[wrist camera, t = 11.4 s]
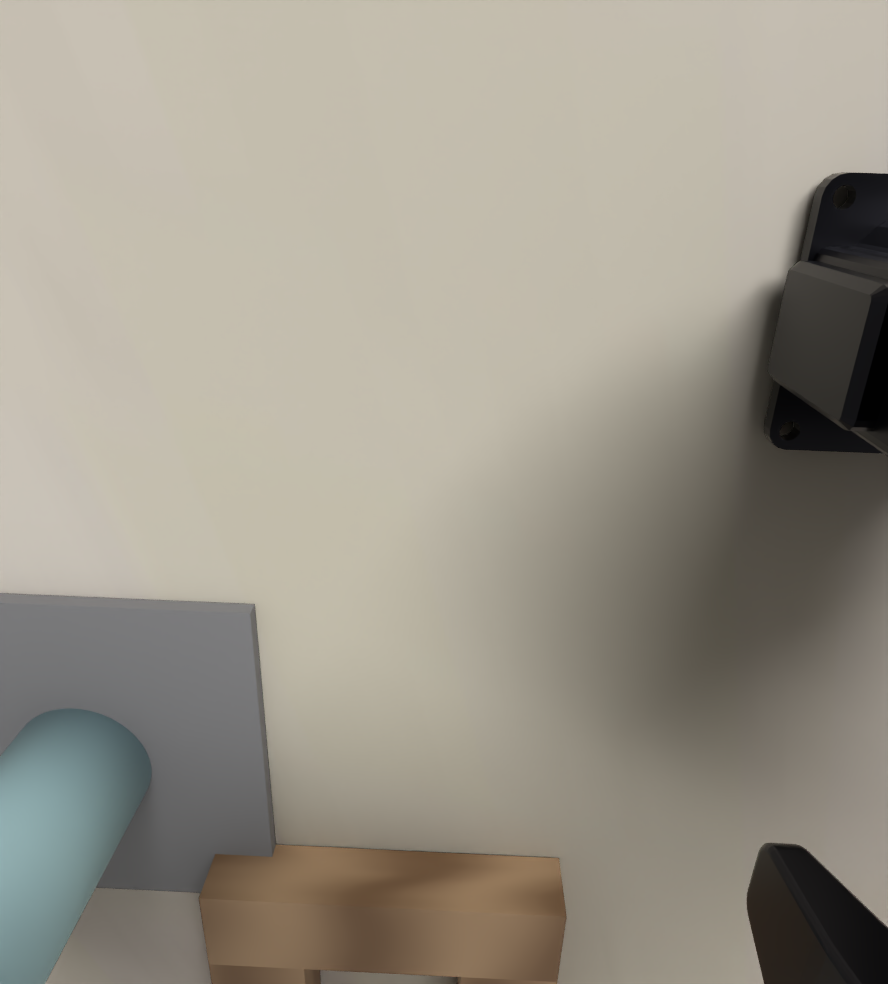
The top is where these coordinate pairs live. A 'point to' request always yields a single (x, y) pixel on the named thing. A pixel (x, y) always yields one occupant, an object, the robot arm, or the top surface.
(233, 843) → the mat
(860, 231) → the robot arm
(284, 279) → the top surface
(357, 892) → the pocket block
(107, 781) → the peg
